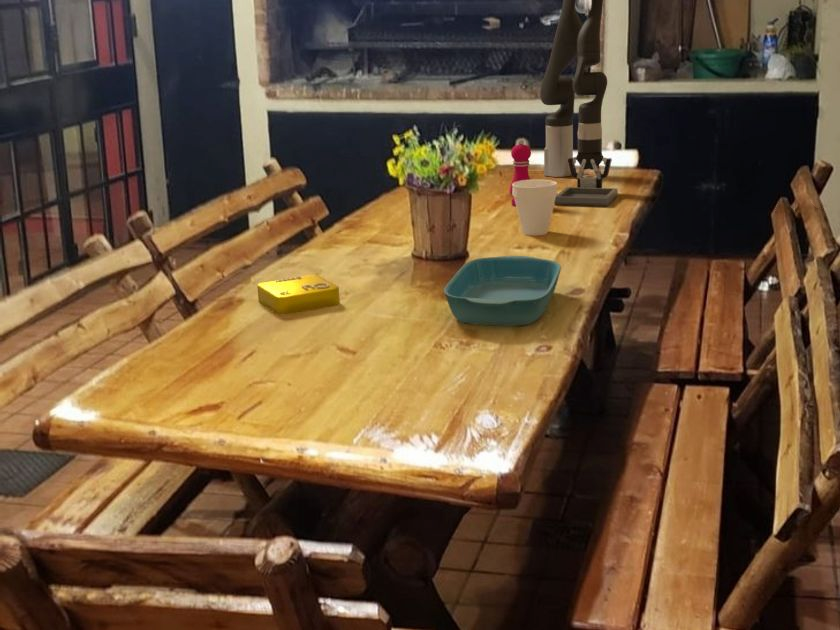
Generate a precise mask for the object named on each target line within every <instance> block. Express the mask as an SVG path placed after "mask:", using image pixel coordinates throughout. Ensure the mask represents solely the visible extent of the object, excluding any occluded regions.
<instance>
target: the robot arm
mask: <svg viewBox="0 0 840 630" xmlns="http://www.w3.org/2000/svg"><path fill="white" fill-rule="evenodd" d="M576 1H577V0H563V1H562V7H561V13H560V15H559V20H558V23H557V27H556V31H555V35H554V38H553V44H552V49H551V53H550V57H549V62H548V63H547V66H546V70H545V72H544V75H543V78H542V81H541V85H540V90H539V91H540V93H539V96H540V100H541V102H542V104H544V105H545V106H559V105H560V106H559V108H558V109H557V110H556V111H555V112H553V113H552V114H549V115H547V116H546V117H545V147H544V149H543V152H544V153H543V154H544V155H543V163H544V164H543V166H544V167H543V172H544V174H543V175H544V177H545V176H546V177H553V178H555V177H556V178H563V177H564V178H565V177H570V176H571V177H572V178H576V180H577V182H576V183H577V186H576V187H580V178H581V177H582V176H583V175H584V172H585V170H593V171H594V174H595V175H596V176H597V188H603V179H604V178H607V177H608V176H609V173H610V169H611V164H612V161H613V159H612V158H611V157H609V158H607V157H604V155H603V151H602V150H603V127H602V105H603V101H604V97H605V93H606V90H607V88H608V87H607V86H608V77H607V76H606V74H605V73H604V72H602V71H594V72H592V71H589V72H585V70H586V69H587V68H589V67H593V66H597V65H598V64H600V62H601V24H602V15H603V4H604V0H591V6H590V7H591V8H590V11H589V13H588V15H587V18H586V19H585V21H584V23H582V21H581V18H580V17H579V15H578V12H577V10H576ZM576 58H577V64H576V67H575V69H576V70H575V72H574V73H575V74H574V75H573V76H574V77H573V78H572V77H570V76H561V75H562V73H563V72H564V70H565V69H566V68H567V67H568V66H569V65H571V63H572V62H573V61H574V60H575V59H576ZM575 94H576V95H577V96H594V98H593V99H592V100H591V101H589V102H588V101H587V102H583V103H580V104H579V106H578V126H577V136H576V137H577V153H576V154H577V155H576V156H575V157H574V153H573V152H574V147H573V146H574V142H573V141H574V128H573V127H574V117H575V114H574V113H575ZM577 162H578V164H579V166H580V167H579V169H578V172H577V169H576V163H577ZM602 162H603V165H604V169H603V173H602V169H601V166H600V165H601V164H602Z"/></svg>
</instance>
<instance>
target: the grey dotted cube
mask: <svg viewBox="0 0 840 630" xmlns="http://www.w3.org/2000/svg"><path fill="white" fill-rule="evenodd" d="M580 188H597V176H596V174H595V175H594V174H593V175H588V174H583V176H582V177H581V178H580Z"/></svg>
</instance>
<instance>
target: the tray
mask: <svg viewBox="0 0 840 630" xmlns="http://www.w3.org/2000/svg"><path fill="white" fill-rule="evenodd" d="M618 190H619V189H618V188H609V187H607V188H604V187H602V188H580V187H577V186H576V187H575V186H572V187H571V186H567V187H565V188H564V189H562V190H561V191H560V192H559V193H557V195H556V198H555V202H554V206H566V207H567V206H568V207H569V206H573V207H600V208H601V207H602V208H606V207H608V206H609V205H610V204H611V203H612V202H613V201H614V200H615V199H617V198H618V194H619V193H618Z"/></svg>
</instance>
